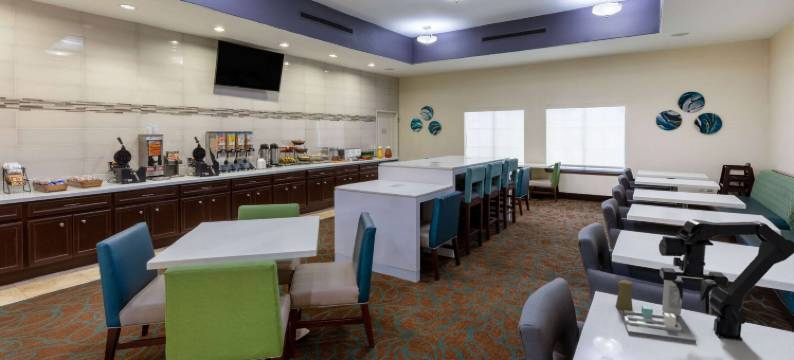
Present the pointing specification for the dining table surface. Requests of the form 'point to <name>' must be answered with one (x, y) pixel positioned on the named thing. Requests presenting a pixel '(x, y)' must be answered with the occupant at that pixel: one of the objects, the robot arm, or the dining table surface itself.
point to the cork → (624, 295)
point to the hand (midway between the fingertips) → (691, 299)
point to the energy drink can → (671, 299)
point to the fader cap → (669, 320)
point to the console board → (655, 326)
